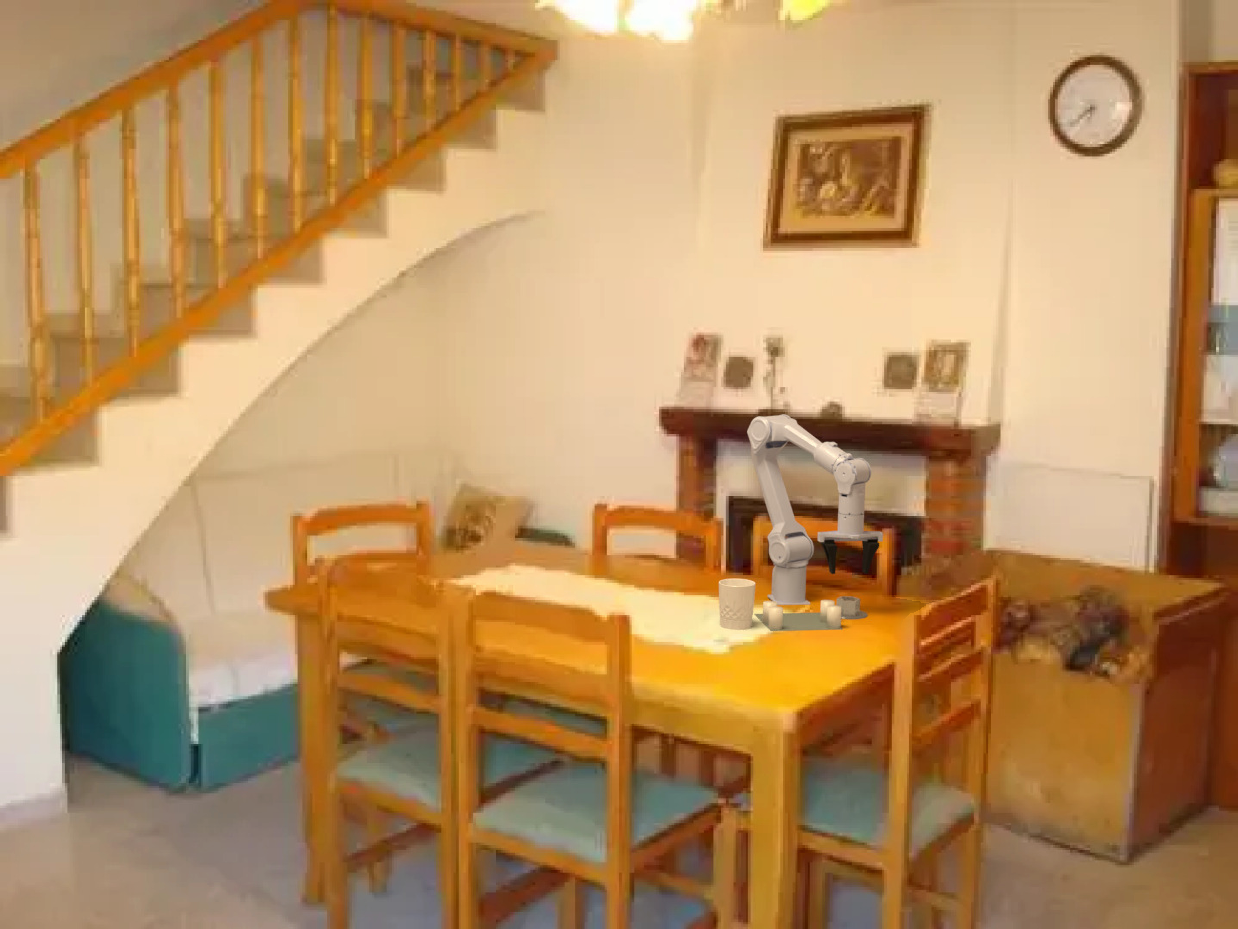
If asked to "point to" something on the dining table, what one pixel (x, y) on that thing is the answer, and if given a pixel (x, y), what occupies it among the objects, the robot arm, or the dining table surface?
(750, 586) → the white cup
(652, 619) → the dining table surface
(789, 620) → the mat
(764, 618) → the beige capsules
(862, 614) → the grey round coaster
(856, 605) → the faceted crystal gem
